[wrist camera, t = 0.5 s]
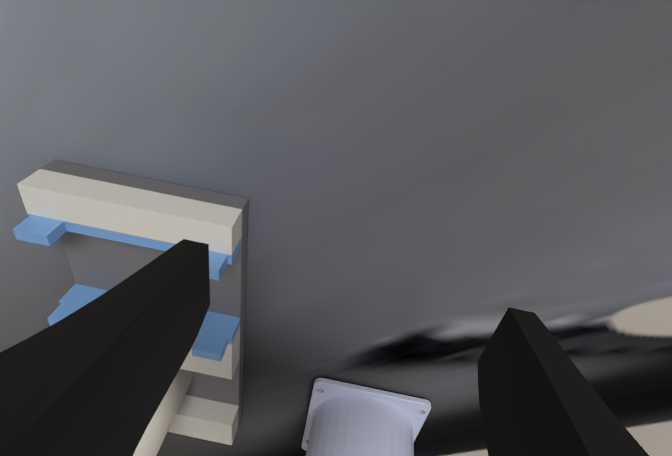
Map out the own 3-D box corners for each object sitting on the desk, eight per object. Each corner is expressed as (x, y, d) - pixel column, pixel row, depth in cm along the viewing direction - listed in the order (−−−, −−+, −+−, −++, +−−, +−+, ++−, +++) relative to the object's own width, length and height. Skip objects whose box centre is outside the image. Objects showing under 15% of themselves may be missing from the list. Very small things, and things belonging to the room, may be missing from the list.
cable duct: (242, 413, 33) (226, 462, 30) (117, 387, 33) (89, 432, 30) (248, 198, 21) (222, 243, 18) (54, 159, 21) (-4, 197, 18)
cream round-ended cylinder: (194, 389, 30) (140, 506, 24) (145, 378, 30) (79, 493, 24) (191, 358, 28) (131, 478, 22) (138, 347, 28) (64, 464, 22)
